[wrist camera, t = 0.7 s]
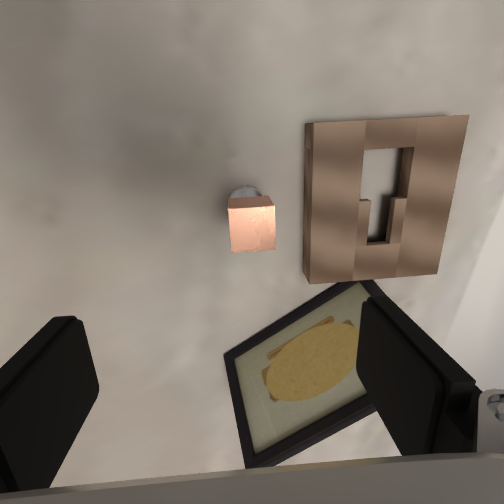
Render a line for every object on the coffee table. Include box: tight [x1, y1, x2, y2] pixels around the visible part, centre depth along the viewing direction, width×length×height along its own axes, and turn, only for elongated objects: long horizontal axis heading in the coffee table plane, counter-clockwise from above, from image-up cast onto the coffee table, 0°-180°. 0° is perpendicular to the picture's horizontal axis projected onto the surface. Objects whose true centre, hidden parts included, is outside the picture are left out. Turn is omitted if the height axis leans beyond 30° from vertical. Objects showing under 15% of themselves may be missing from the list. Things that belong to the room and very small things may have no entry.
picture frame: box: [224, 279, 386, 469], centre depth 37 cm, size 23×9×15 cm, turn 125°
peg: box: [227, 186, 276, 253], centre depth 31 cm, size 4×4×10 cm
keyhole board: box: [303, 115, 469, 284], centre depth 35 cm, size 18×16×4 cm
